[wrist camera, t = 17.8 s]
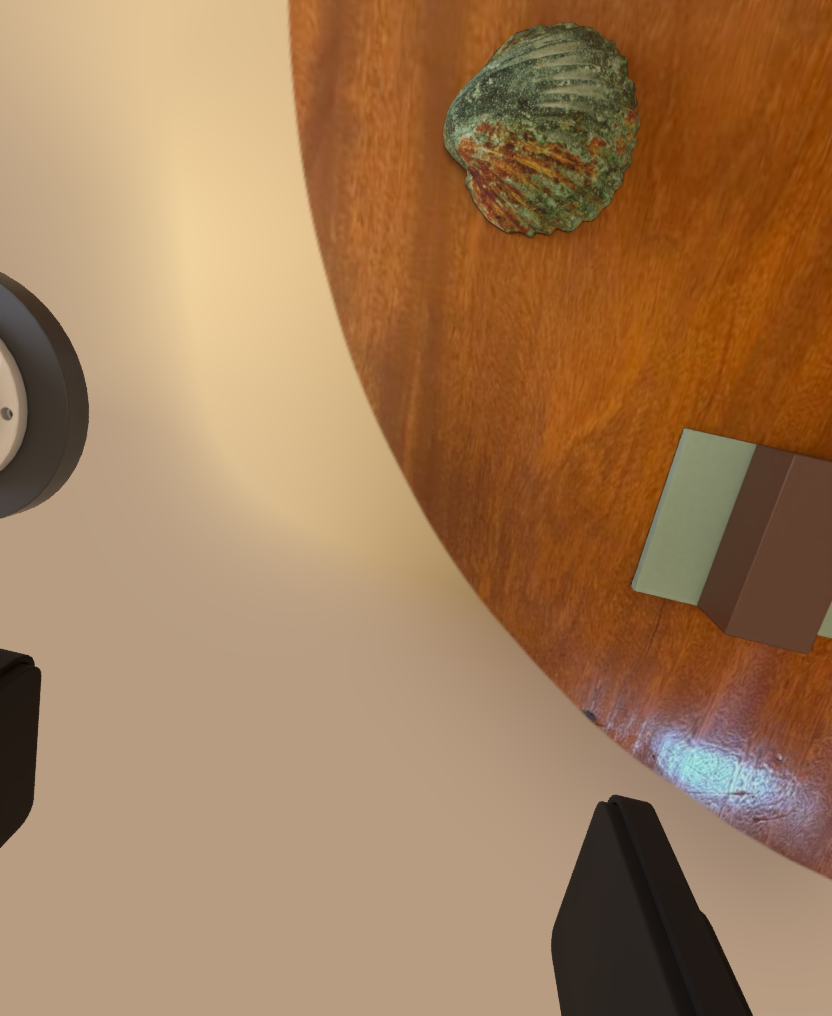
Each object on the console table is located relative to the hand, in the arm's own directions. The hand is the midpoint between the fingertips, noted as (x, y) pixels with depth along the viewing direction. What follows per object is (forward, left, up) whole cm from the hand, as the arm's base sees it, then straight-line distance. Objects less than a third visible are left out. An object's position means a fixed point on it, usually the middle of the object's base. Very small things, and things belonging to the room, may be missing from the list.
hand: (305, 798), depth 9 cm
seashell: (+1, +20, -27) cm, 33 cm away
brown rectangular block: (+20, +2, -26) cm, 32 cm away
